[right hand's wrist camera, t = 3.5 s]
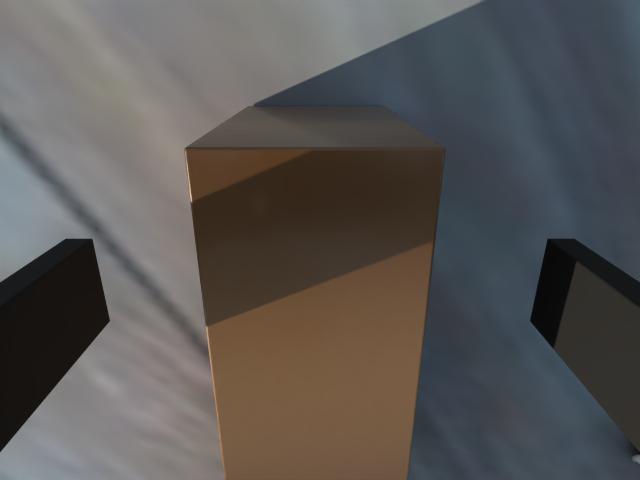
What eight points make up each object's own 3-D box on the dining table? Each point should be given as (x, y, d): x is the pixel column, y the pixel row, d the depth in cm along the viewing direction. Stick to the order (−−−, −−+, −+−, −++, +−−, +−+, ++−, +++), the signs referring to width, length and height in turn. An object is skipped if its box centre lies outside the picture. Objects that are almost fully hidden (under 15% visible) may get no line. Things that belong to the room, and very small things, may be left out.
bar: (247, 105, 16) (182, 147, 8) (384, 105, 16) (446, 147, 8) (273, 511, 25) (253, 714, 17) (361, 511, 25) (381, 712, 17)
